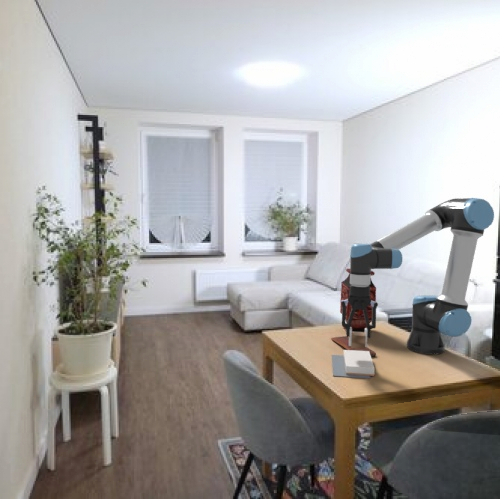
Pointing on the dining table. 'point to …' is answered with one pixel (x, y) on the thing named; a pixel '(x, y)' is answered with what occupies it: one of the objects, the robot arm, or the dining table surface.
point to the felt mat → (342, 368)
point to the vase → (358, 318)
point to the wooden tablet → (345, 343)
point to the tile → (358, 362)
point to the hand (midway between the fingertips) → (357, 345)
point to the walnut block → (358, 340)
